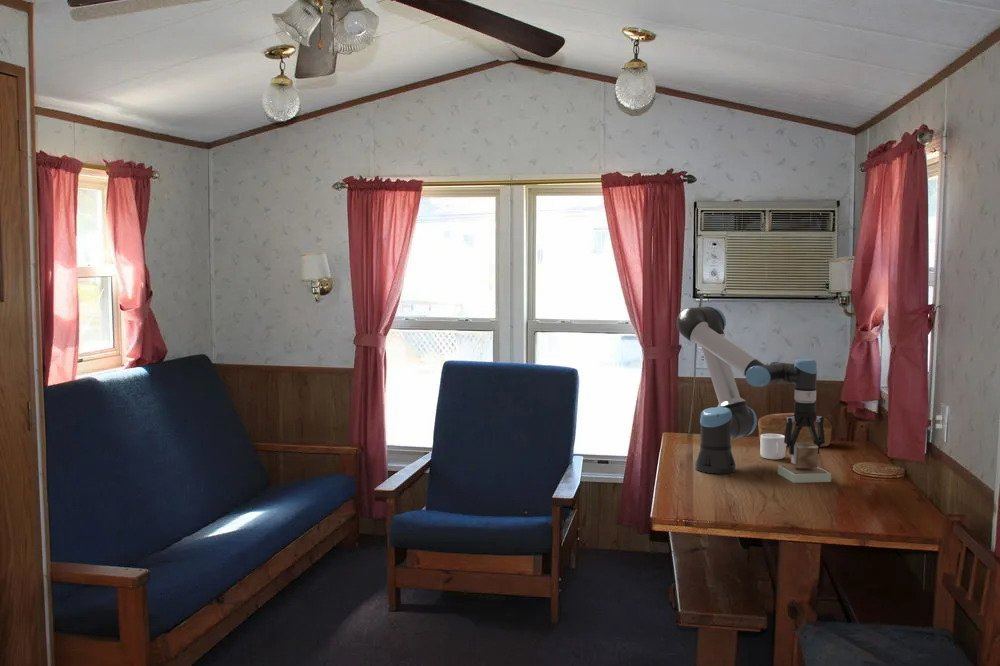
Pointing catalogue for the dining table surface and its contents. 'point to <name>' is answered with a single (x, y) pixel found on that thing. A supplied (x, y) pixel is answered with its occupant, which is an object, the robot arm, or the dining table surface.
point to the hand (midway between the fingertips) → (803, 462)
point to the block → (806, 455)
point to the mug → (772, 446)
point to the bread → (778, 426)
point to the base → (804, 474)
